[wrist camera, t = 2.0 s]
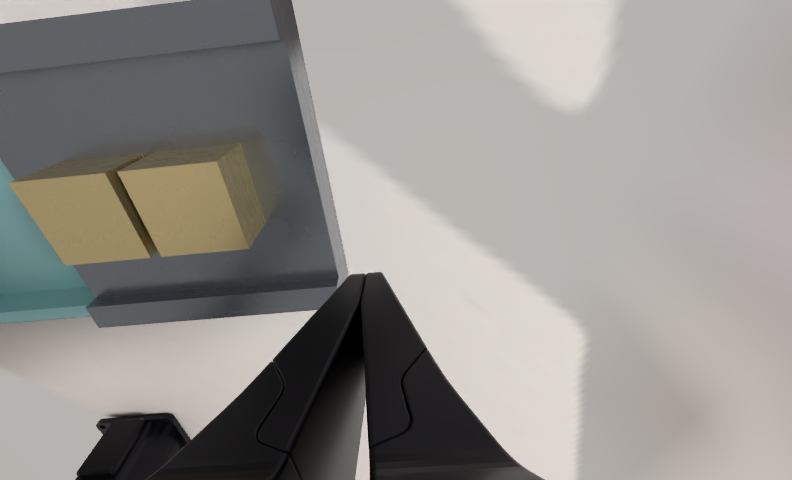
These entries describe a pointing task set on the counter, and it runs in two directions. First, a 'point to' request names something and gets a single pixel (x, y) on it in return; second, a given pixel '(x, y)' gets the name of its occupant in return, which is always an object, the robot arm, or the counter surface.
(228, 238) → the tan square block
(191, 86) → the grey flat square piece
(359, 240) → the counter surface
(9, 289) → the tray
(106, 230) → the chip
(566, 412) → the counter surface
